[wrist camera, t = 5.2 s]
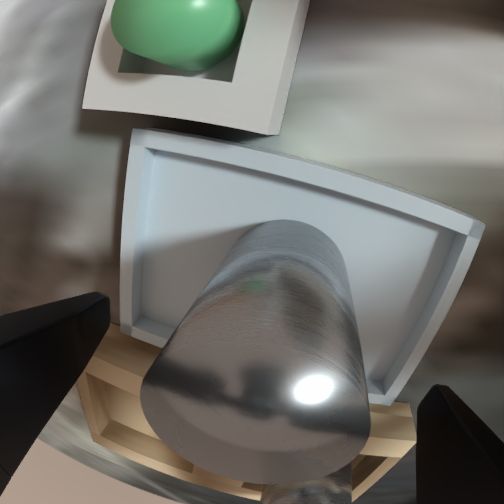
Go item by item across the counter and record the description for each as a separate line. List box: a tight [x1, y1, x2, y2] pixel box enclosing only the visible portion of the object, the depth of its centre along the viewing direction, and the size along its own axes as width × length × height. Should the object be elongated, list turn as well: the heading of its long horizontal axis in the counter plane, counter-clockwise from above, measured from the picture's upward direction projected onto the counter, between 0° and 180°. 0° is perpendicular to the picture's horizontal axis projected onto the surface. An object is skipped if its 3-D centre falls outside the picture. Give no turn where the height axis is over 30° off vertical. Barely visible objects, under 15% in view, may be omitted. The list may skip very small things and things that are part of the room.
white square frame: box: [82, 0, 310, 135], centre depth 8 cm, size 6×6×3 cm
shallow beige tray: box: [77, 322, 417, 502], centre depth 15 cm, size 17×9×3 cm, turn 78°
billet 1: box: [140, 219, 371, 485], centre depth 9 cm, size 5×5×7 cm
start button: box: [111, 0, 245, 71], centre depth 7 cm, size 3×3×2 cm
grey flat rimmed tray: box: [120, 128, 486, 406], centre depth 12 cm, size 13×9×1 cm
